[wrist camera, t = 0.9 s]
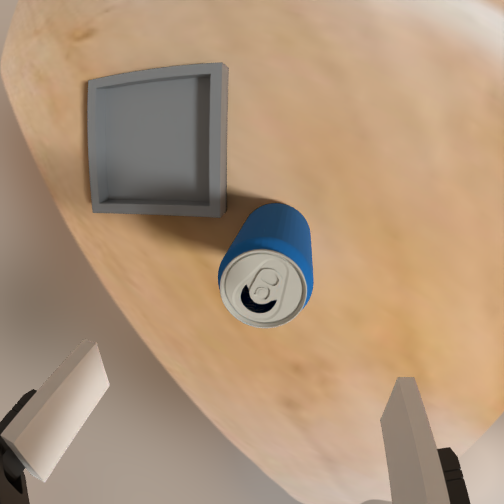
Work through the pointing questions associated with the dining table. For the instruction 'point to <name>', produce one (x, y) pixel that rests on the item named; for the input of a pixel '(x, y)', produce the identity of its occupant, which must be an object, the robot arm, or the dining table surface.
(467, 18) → the dining table surface
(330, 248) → the dining table surface
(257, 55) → the dining table surface
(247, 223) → the beverage can
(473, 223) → the dining table surface
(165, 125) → the tray
